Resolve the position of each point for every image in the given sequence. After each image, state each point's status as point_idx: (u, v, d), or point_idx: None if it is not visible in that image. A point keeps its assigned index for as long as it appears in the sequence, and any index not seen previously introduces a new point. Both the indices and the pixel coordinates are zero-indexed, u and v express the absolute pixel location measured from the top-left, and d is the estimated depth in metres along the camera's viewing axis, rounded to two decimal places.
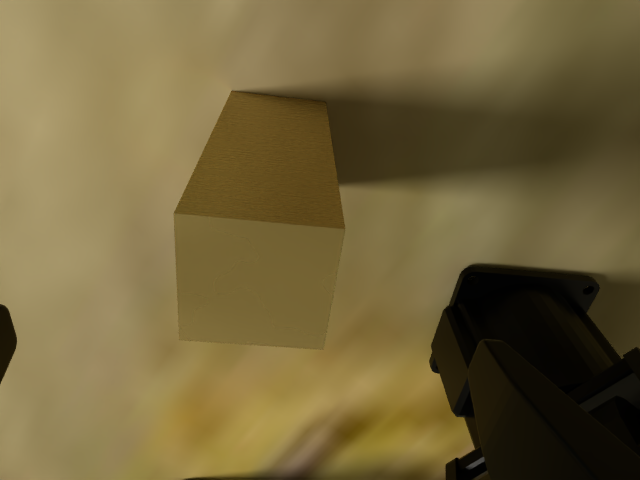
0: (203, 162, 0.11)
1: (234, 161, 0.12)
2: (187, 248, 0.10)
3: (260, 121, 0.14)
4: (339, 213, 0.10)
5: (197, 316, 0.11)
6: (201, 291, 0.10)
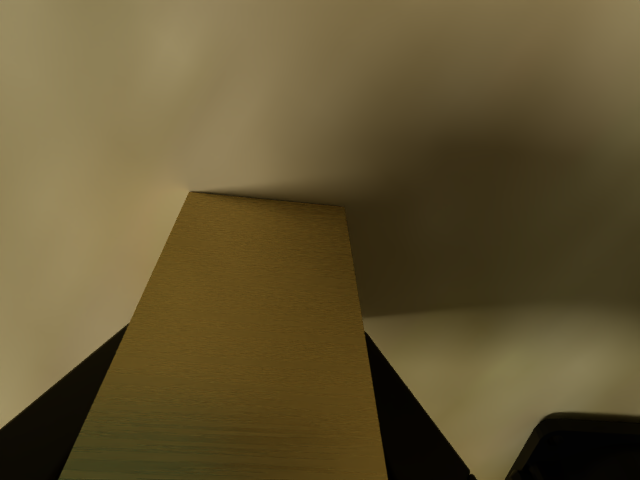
0: (71, 479, 0.05)
1: (149, 458, 0.05)
2: None
3: (229, 278, 0.08)
4: None
5: None
6: None
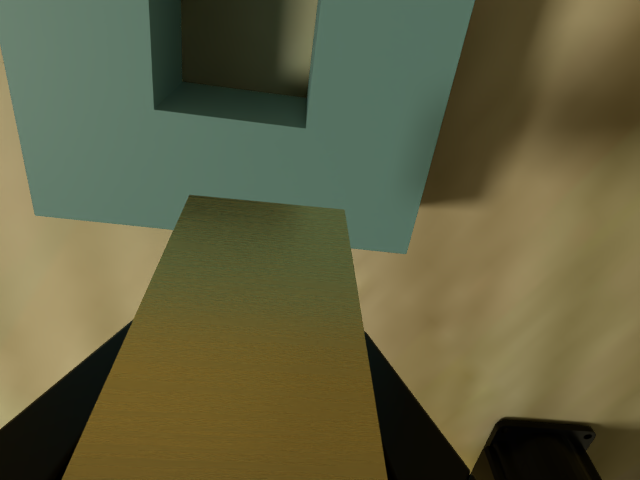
0: None
1: (151, 463, 0.05)
2: None
3: (230, 282, 0.08)
4: None
5: None
6: None
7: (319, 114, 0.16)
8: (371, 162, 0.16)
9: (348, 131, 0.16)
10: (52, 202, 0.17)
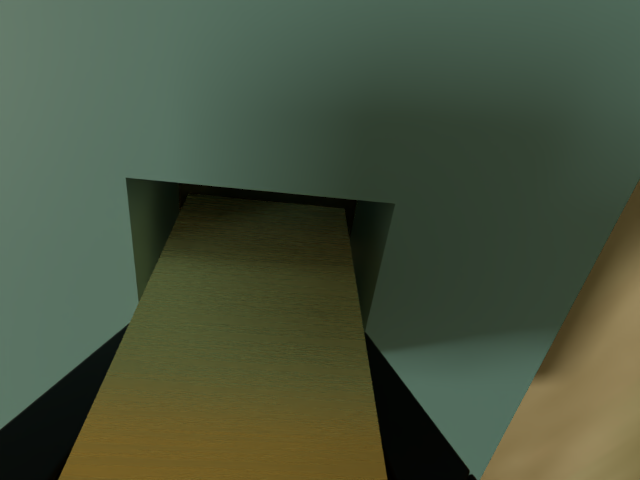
0: None
1: (148, 462, 0.05)
2: None
3: (229, 281, 0.08)
4: None
5: None
6: None
7: None
8: (438, 411, 0.12)
9: (410, 382, 0.12)
10: None
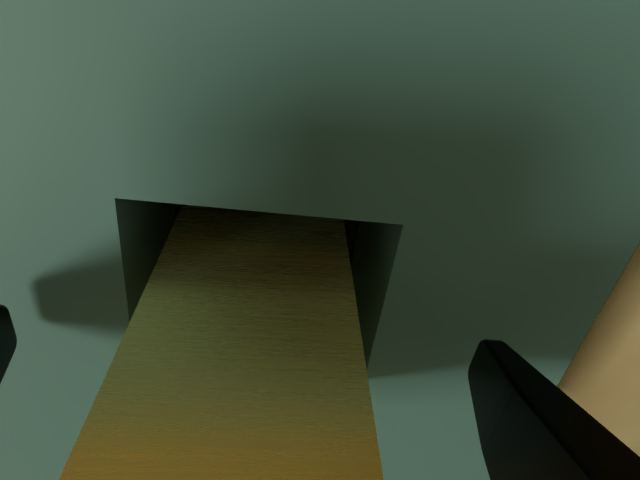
0: (129, 344, 0.06)
1: (184, 333, 0.07)
2: None
3: (239, 222, 0.09)
4: None
5: None
6: None
7: (377, 393, 0.11)
8: (446, 437, 0.12)
9: (417, 408, 0.11)
10: None
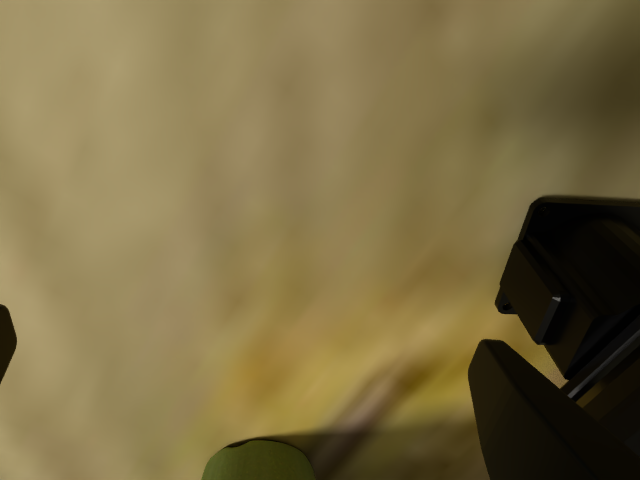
0: None
1: None
2: None
3: None
4: None
5: None
6: None
7: None
8: None
9: None
10: None
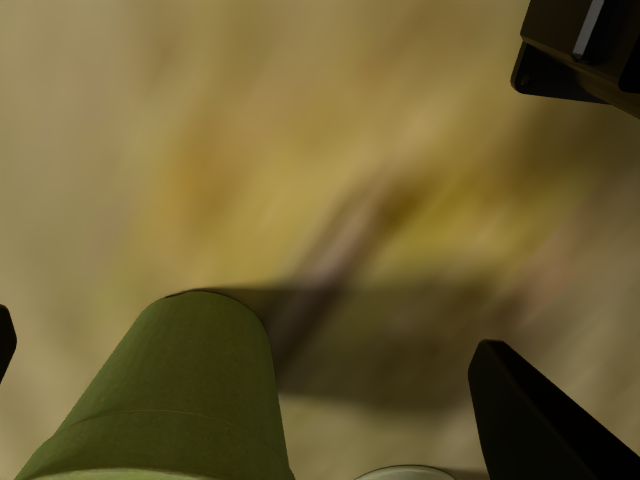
0: None
1: None
2: None
3: None
4: None
5: None
6: None
7: None
8: None
9: None
10: None
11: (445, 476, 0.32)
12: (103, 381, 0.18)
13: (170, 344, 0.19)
